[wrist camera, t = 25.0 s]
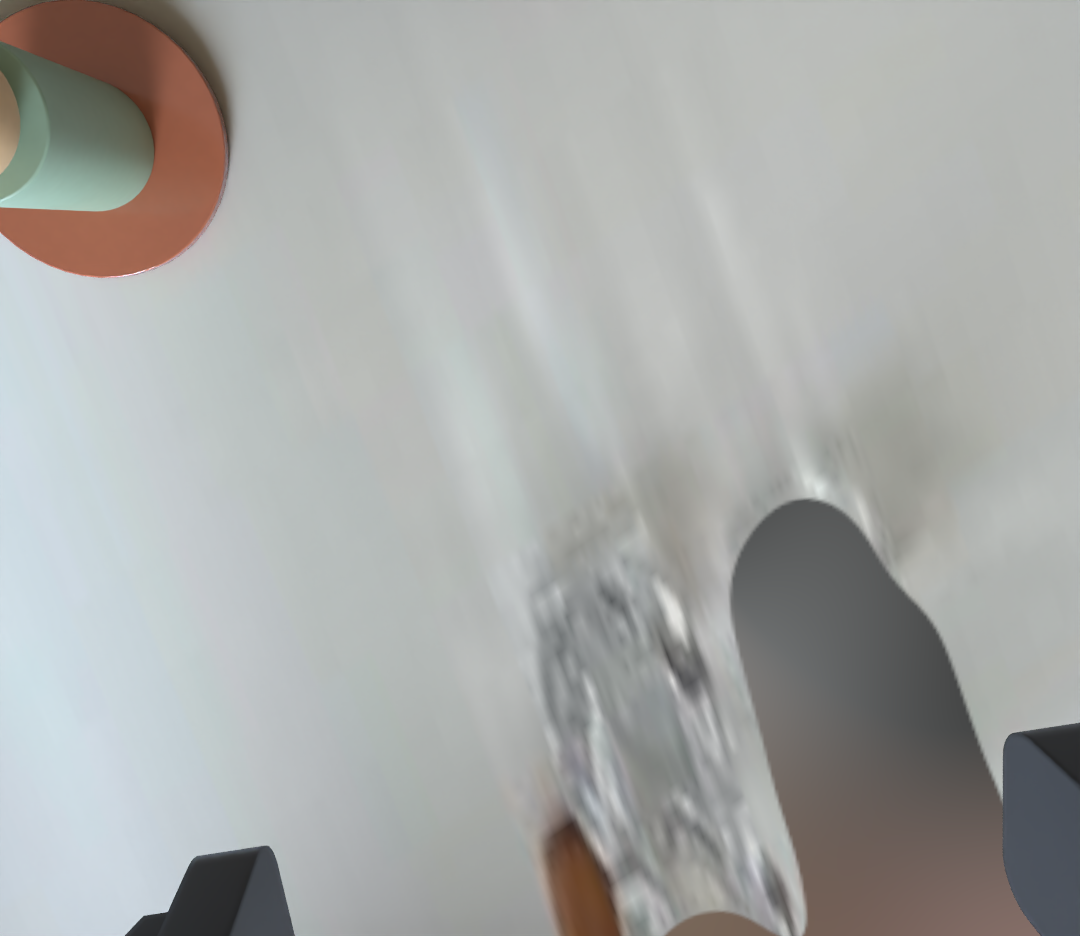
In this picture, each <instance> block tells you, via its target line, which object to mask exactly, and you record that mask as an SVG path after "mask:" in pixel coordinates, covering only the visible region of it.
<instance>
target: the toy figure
mask: <svg viewBox="0 0 1080 936" xmlns="http://www.w3.org/2000/svg"><path fill="white" fill-rule="evenodd" d="M153 162H154V143H153V138H152V134H151V130H150V128H149V125H148V123H147V121H146V119H145V117H144V115H143V113H142V112H141V111H140V109H139V108H138V106H137V105H136V104H135V103H134V102H133V101H132V100H131V99H130V98H129V97H128V96H127V95H126V94H125V93H123V92H122V91H120V90H119V89H118V88H116V87H114V86H112V85H110V84H108V83H106V82H103V81H101V80H98V79H95V78H93V77H90V76H88V75H85V74H83V73H80V72H78V71H75V70H73V69H70V68H67V67H65V66H62V65H60V64H57V63H55V62H52V61H50V60H47V59H45V58H42V57H40V56H37V55H34V54H32V53H29V52H27V51H24V50H22V49H19V48H17V47H14V46H12V45H9V44H7V43H4V42H1V41H0V207H5V208H28V209H51V210H74V211H107V210H112V209H115V208H118V207H120V206H123V205H125V204H126V203H128V202H129V201H131V200H132V199H134V198H135V197H136V196H137V195H138V194H139V193H140V192H141V190H142V189H143V188H144V186H145V185H146V183H147V181H148V179H149V177H150V175H151V171H152V168H153Z"/></svg>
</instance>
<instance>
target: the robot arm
mask: <svg viewBox="0 0 1080 936" xmlns="http://www.w3.org/2000/svg"><path fill="white" fill-rule="evenodd" d="M1003 860H1004V866H1005V871H1006V874H1007V878H1008V881H1009V884H1010V887H1011V890H1012V892H1013V894H1014V897H1015V899H1016V901H1017V903H1018V905H1019V907H1020V908H1021V910H1022V912H1023V913H1024V915H1025V916H1026V917H1027V919H1028V920H1029V921H1030V923H1031V924H1032V925H1033V926H1034V928H1035V929H1036V930H1037V932H1038V933H1039V934H1040V935H1041V936H1080V723H1075V724H1069V725H1062V726H1056V727H1049V728H1043V729H1036V730H1030V731H1023V732H1017V733H1012V734H1010V735H1009V736H1008V737H1007V739H1006V741H1005V744H1004V749H1003ZM125 936H295V935H294V931H293V927H292V923H291V918H290V914H289V910H288V906H287V902H286V898H285V893H284V889H283V885H282V881H281V877H280V873H279V868H278V864H277V861H276V858H275V855H274V853H273V851H272V849H271V848H270V847H269V846H260V847H254V848H247V849H241V850H234V851H228V852H221V853H215V854H208V855H202V856H197V857H195V858H194V859H193V860H192V861H191V863H190V865H189V867H188V869H187V871H186V873H185V875H184V878H183V880H182V882H181V884H180V886H179V889H178V891H177V893H176V895H175V897H174V900H173V902H172V904H171V906H170V909H169V911H168V912H166V913H160V914H153V915H147V916H143V917H142V918H141V919H140V920H139V921H138V922H137V923H136V925H135V926H134V927H133V928H132V929H131V930H130V931H129V932H128V933H127V934H126V935H125Z"/></svg>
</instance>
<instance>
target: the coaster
mask: <svg viewBox="0 0 1080 936" xmlns="http://www.w3.org/2000/svg"><path fill="white" fill-rule="evenodd" d="M0 41H1V42H4V43H7V44H9V45H12V46H14V47H17V48H19V49H22V50H24V51H27V52H29V53H32V54H34V55H37V56H40V57H42V58H45V59H47V60H50V61H52V62H55V63H57V64H60V65H62V66H65V67H67V68H70V69H73V70H75V71H78V72H80V73H83V74H85V75H88V76H90V77H93V78H95V79H98V80H101V81H103V82H106V83H108V84H110V85H112V86H114V87H116V88H118V89H119V90H120V91H122V92H123V93H125V94H126V95H127V96H128V97H129V98H130V99H131V100H132V101H133V102H134V103H135V104H136V105H137V106H138V108H139V109H140V111H141V112H142V113H143V115H144V117H145V119H146V121H147V123H148V125H149V128H150V130H151V134H152V138H153V143H154V162H153V168H152V171H151V175H150V177H149V179H148V181H147V183H146V185H145V186H144V188H143V189H142V190H141V192H140V193H139V194H138V195H137V196H136V197H135V198H134V199H132V200H131V201H129V202H128V203H126V204H125V205H123V206H120V207H118V208H115V209H112V210H107V211H74V210H51V209H28V208H5V207H0V232H1V233H2V234H3V235H4V236H5V237H6V238H7V239H8V240H10V241H11V242H12V243H13V244H14V245H15V246H17V247H18V248H19V249H21V250H23V251H24V252H26V253H27V254H29V255H30V256H32V257H33V258H35V259H37V260H39V261H41V262H43V263H45V264H47V265H49V266H51V267H54V268H57V269H60V270H62V271H65V272H69V273H73V274H77V275H82V276H89V277H98V278H111V277H123V276H130V275H136V274H141V273H144V272H147V271H151V270H154V269H156V268H158V267H160V266H163V265H165V264H167V263H169V262H171V261H172V260H174V259H175V258H177V257H178V256H180V255H181V254H183V253H184V252H185V251H186V250H187V249H189V248H190V247H191V246H192V245H193V244H194V243H195V242H196V241H197V240H198V239H199V237H200V236H201V235H202V234H203V233H204V232H205V230H206V229H207V227H208V226H209V224H210V222H211V221H212V219H213V218H214V216H215V213H216V211H217V209H218V207H219V205H220V203H221V199H222V196H223V193H224V189H225V186H226V179H227V173H228V156H229V151H228V141H227V133H226V128H225V124H224V119H223V115H222V113H221V110H220V107H219V104H218V101H217V99H216V97H215V95H214V93H213V91H212V89H211V87H210V85H209V83H208V81H207V79H206V78H205V76H204V75H203V73H202V72H201V70H200V69H199V67H198V66H197V64H196V63H195V62H194V61H193V60H192V58H191V57H190V56H189V55H188V54H187V52H186V51H185V50H184V49H183V48H181V47H180V46H179V45H178V44H177V43H176V42H175V41H174V40H173V39H172V38H171V37H169V36H168V35H167V34H165V33H164V32H163V31H161V30H160V29H159V28H157V27H156V26H154V25H153V24H151V23H149V22H148V21H146V20H144V19H142V18H141V17H139V16H137V15H135V14H133V13H130V12H128V11H126V10H123V9H121V8H118V7H115V6H112V5H108V4H104V3H101V2H95V1H87V0H56V1H50V2H44V3H40V4H37V5H34V6H30V7H27V8H25V9H23V10H21V11H19V12H16V13H14V14H12V15H11V16H9V17H8V18H6V19H5V20H3V21H2V22H0Z"/></svg>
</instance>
